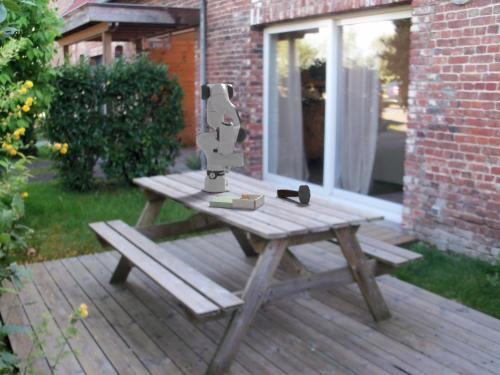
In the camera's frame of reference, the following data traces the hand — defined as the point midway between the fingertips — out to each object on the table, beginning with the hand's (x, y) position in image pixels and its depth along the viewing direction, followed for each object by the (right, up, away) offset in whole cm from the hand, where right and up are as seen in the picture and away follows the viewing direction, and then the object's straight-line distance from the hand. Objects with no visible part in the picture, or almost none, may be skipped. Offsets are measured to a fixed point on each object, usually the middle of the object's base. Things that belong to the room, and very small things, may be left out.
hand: (226, 173), depth 344 cm
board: (0, -18, +4) cm, 19 cm away
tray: (+13, -19, 0) cm, 23 cm away
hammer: (+40, -17, +19) cm, 48 cm away
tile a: (+10, -15, +5) cm, 19 cm away
